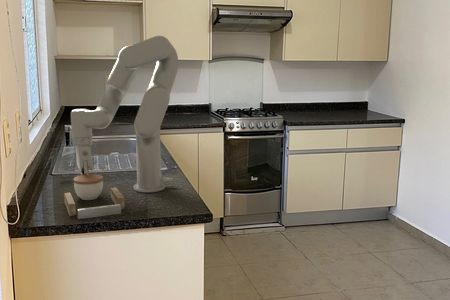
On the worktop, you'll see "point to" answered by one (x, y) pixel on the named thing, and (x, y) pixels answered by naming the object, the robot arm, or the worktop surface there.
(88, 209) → the rail
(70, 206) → the rail far
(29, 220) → the worktop surface
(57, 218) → the worktop surface
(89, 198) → the lidded jar
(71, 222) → the worktop surface
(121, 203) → the bar
